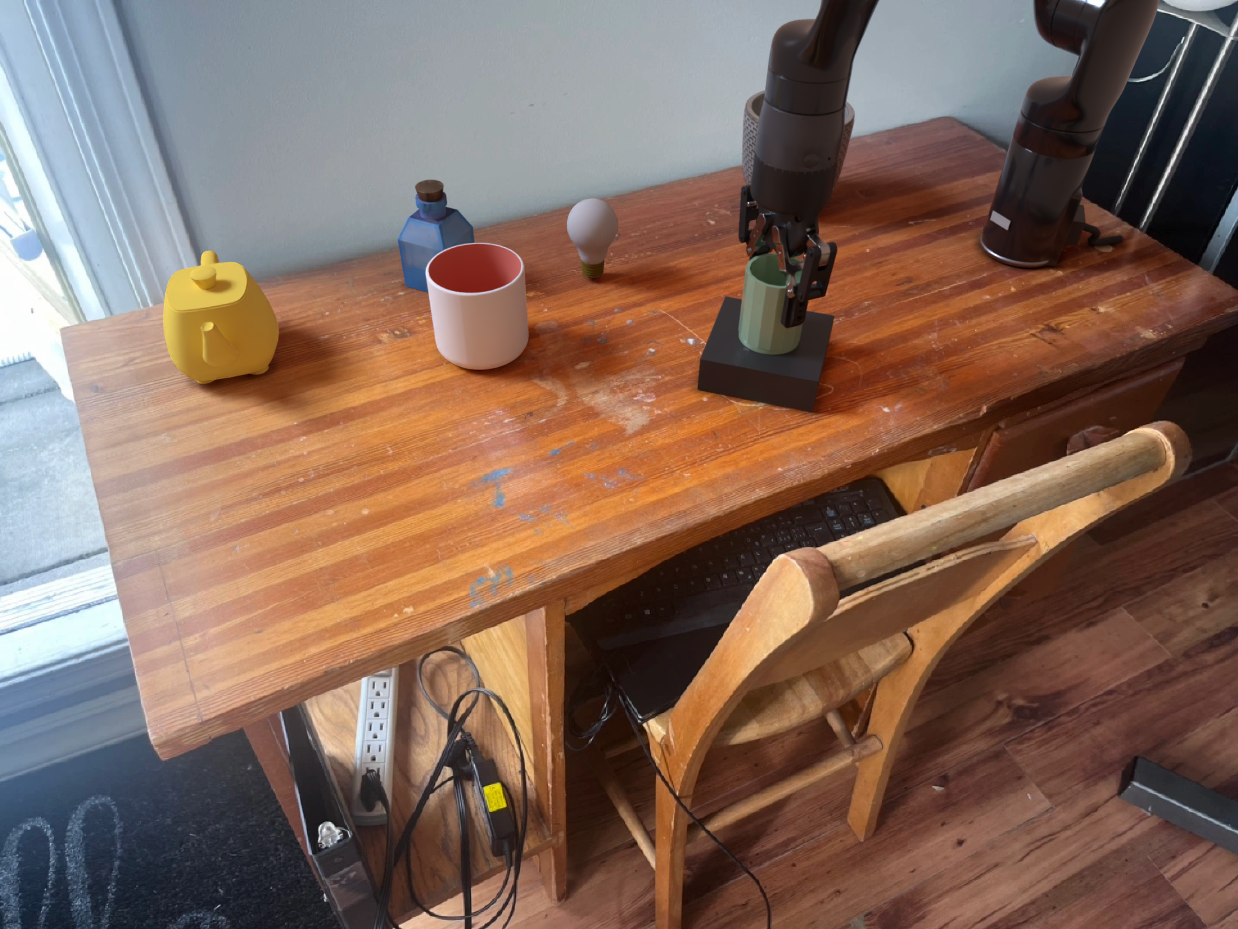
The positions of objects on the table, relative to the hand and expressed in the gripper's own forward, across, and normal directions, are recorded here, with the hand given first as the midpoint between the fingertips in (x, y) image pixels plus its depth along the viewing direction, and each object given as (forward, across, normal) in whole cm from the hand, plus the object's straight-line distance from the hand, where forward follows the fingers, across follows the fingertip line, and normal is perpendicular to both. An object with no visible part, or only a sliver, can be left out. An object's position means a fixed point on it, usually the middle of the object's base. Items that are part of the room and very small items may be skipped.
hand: (773, 305), depth 96 cm
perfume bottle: (+8, +30, +27) cm, 41 cm away
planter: (+8, +31, -21) cm, 38 cm away
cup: (+8, +15, +27) cm, 32 cm away
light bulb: (+8, +23, +10) cm, 27 cm away
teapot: (+8, +22, +52) cm, 57 cm away
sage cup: (+4, 0, 0) cm, 4 cm away
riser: (+8, 0, 0) cm, 8 cm away
